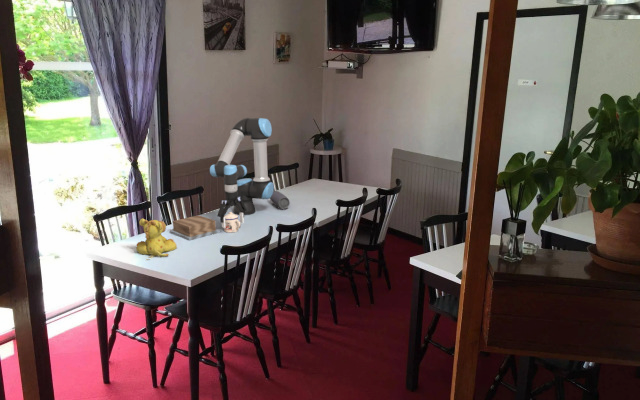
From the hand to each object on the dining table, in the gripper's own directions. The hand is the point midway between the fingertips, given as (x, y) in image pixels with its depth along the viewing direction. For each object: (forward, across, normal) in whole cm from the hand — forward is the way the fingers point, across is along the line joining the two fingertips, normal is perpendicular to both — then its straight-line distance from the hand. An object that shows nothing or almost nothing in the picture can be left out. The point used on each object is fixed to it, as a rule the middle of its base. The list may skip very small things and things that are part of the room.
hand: (232, 225), depth 316 cm
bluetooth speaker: (+4, +59, +24) cm, 64 cm away
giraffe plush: (+4, -51, 0) cm, 51 cm away
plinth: (+4, -18, +14) cm, 23 cm away
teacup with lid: (+4, 0, 0) cm, 4 cm away
